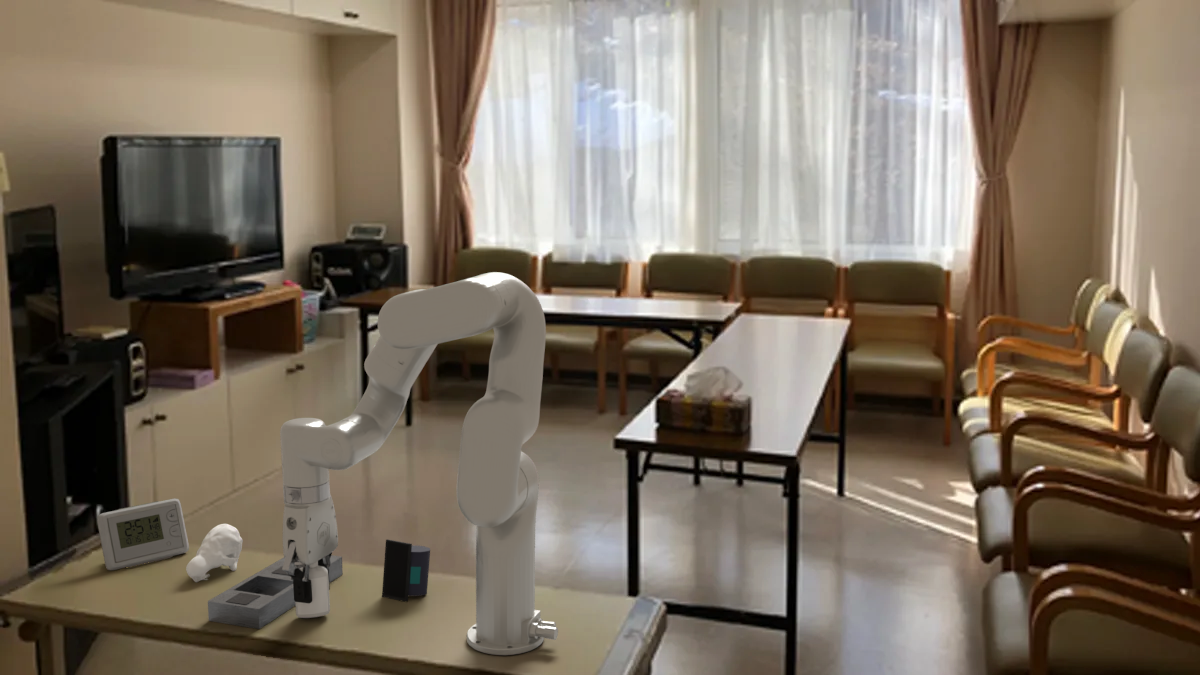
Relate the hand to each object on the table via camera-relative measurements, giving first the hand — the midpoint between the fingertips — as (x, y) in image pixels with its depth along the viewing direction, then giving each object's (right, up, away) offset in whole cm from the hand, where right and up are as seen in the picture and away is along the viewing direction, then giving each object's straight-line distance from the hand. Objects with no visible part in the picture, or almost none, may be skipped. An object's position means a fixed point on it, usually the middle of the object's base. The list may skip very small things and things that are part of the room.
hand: (312, 594), depth 184 cm
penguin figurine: (-24, -1, +20) cm, 31 cm away
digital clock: (-40, 0, +27) cm, 48 cm away
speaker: (+14, -3, +12) cm, 19 cm away
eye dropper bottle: (0, -4, +1) cm, 4 cm away
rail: (-8, -2, +9) cm, 13 cm away
